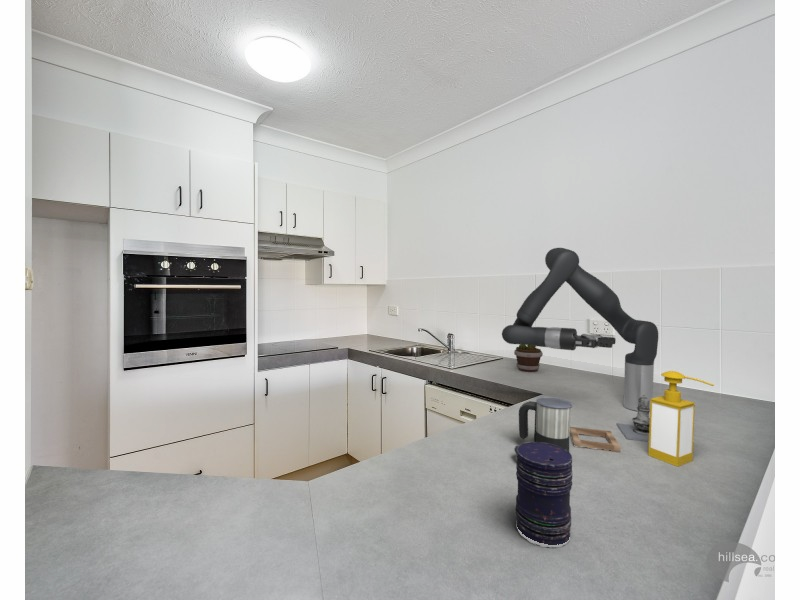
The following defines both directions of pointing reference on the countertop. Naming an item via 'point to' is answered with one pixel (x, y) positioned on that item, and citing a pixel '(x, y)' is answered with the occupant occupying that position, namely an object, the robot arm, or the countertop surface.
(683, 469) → the countertop surface
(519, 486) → the navy blue cylinder
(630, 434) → the slate mat
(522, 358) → the flowerpot
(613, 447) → the holder frame
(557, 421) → the milk frother
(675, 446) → the soap bottle
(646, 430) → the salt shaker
